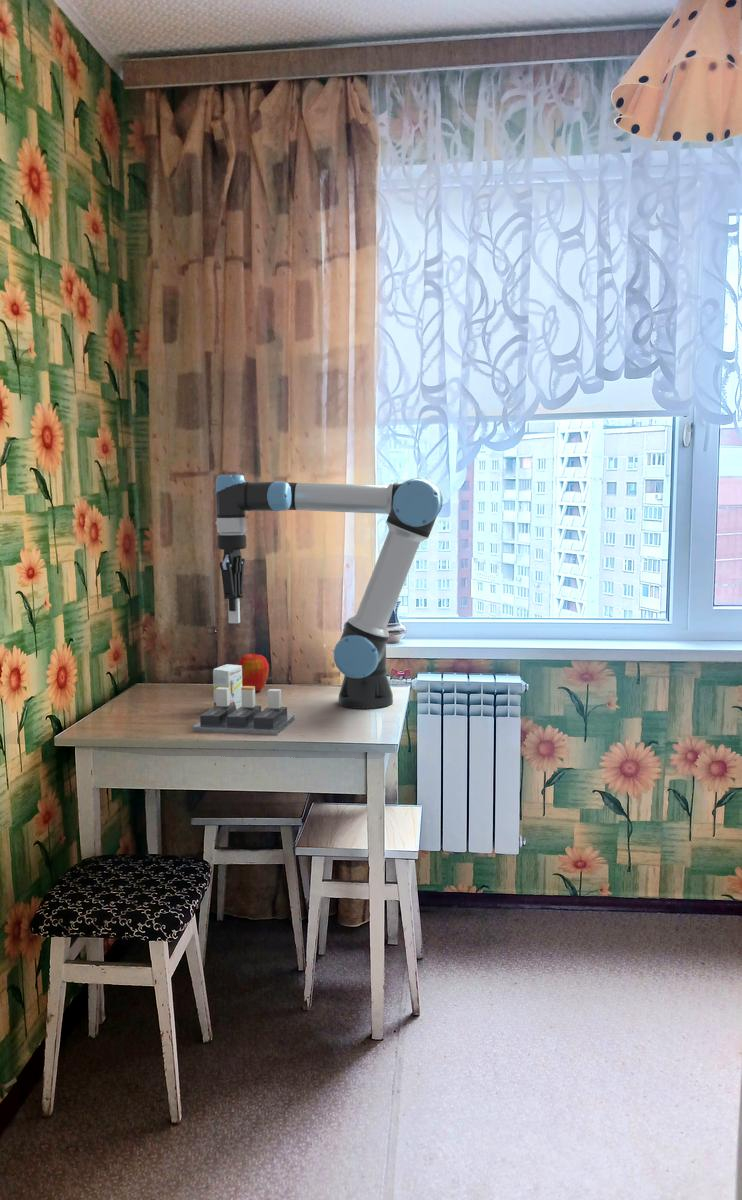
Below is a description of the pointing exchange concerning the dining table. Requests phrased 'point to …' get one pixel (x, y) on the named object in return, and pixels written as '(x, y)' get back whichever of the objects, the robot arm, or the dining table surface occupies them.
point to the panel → (245, 729)
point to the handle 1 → (222, 696)
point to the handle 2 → (274, 698)
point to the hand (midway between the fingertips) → (234, 622)
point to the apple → (254, 670)
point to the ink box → (229, 682)
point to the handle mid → (248, 696)
